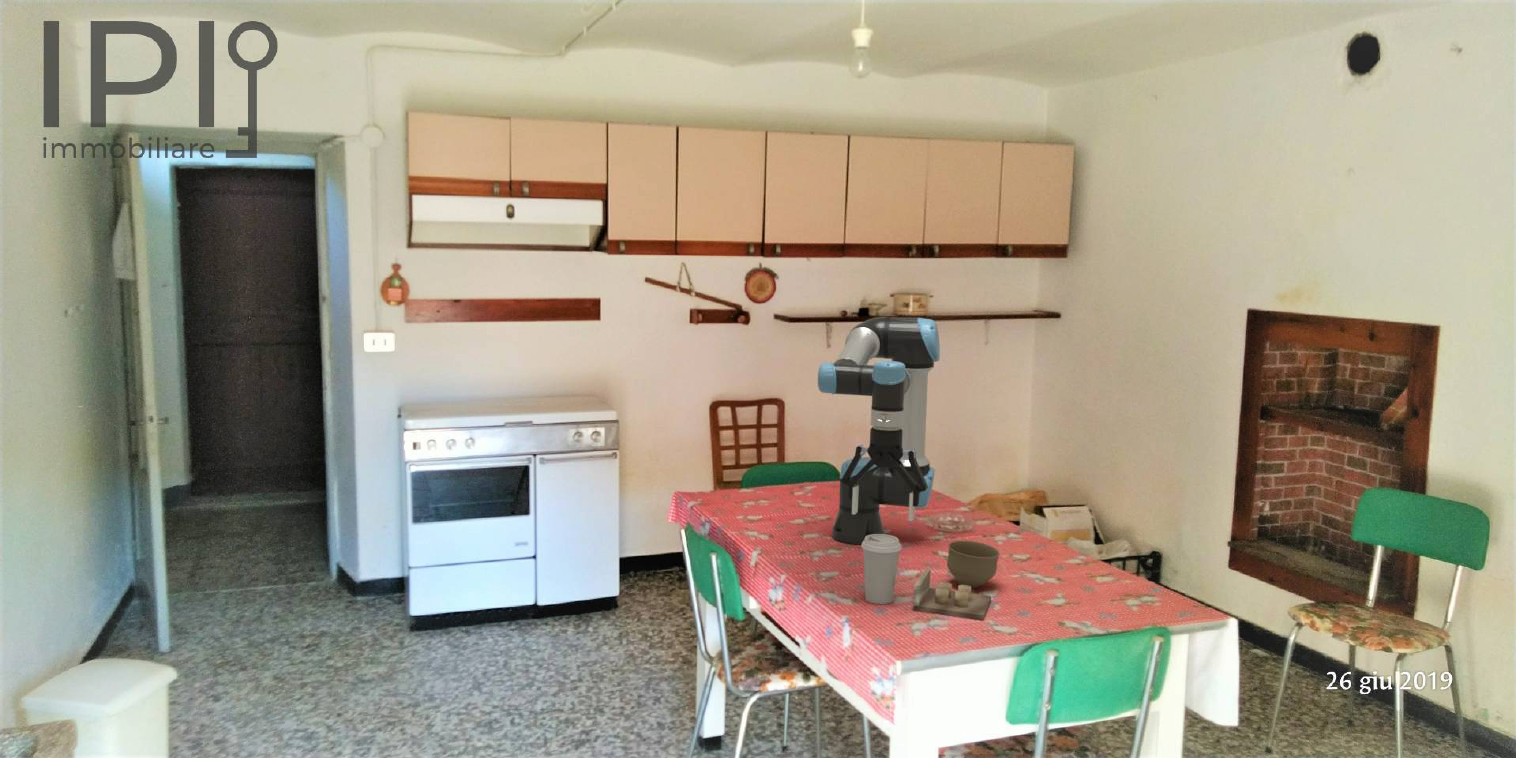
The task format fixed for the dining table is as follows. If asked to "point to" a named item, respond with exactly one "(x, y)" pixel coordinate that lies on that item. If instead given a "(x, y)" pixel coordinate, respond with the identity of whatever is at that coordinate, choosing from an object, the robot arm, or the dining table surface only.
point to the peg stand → (948, 599)
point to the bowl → (972, 562)
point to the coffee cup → (880, 567)
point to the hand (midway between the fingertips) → (882, 516)
